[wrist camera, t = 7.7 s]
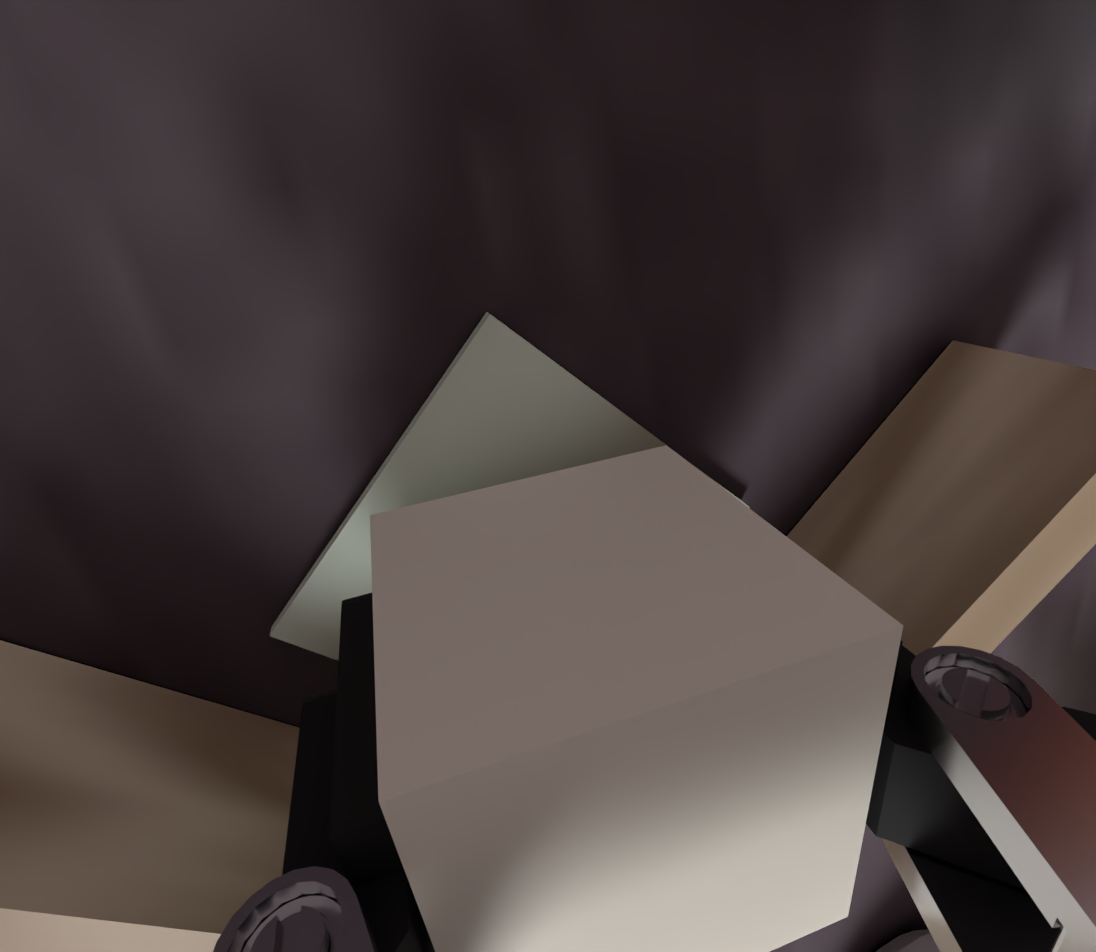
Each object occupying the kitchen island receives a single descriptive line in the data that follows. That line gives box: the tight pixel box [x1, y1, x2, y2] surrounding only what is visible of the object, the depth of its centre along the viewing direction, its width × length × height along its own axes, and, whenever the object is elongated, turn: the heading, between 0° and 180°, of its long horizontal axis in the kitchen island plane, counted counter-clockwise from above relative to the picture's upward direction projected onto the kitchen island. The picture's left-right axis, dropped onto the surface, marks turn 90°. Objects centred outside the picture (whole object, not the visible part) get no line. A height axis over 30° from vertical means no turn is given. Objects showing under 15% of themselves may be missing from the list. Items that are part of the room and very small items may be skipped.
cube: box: [370, 445, 903, 952], centre depth 8 cm, size 5×5×5 cm
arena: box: [0, 312, 1096, 952], centre depth 10 cm, size 14×16×4 cm
